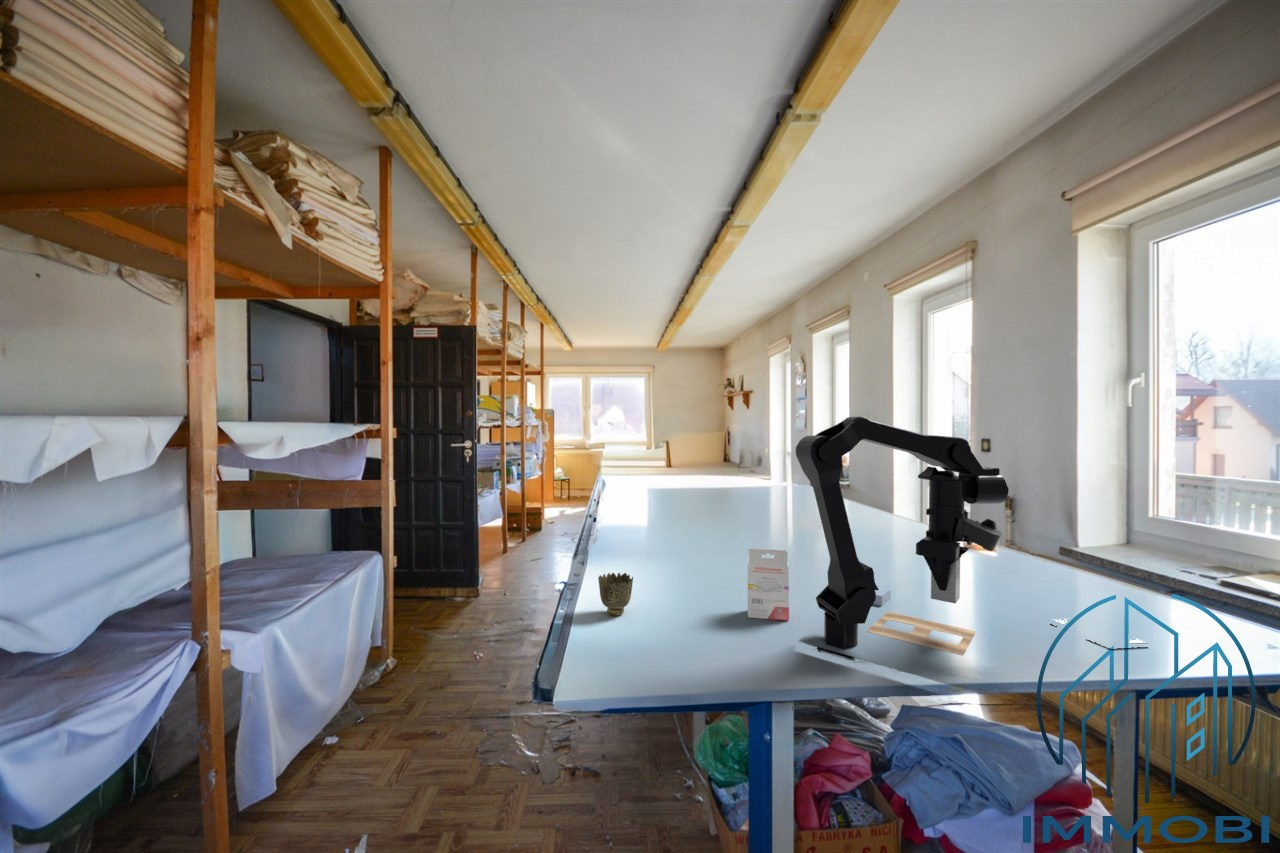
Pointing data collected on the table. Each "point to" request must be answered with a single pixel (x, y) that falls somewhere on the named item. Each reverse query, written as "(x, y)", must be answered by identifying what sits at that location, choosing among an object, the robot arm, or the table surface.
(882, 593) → the block
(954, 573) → the grey rectangular block
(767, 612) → the ink cartridge box
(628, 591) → the cup
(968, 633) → the socket board
